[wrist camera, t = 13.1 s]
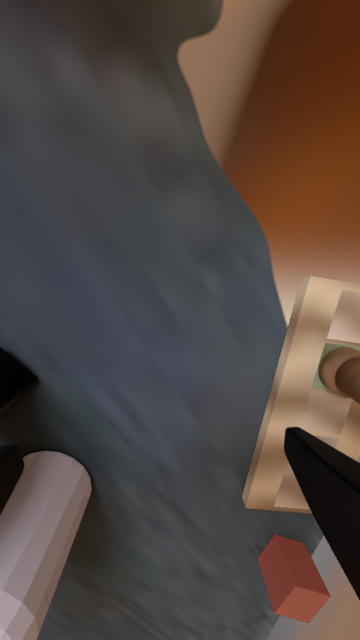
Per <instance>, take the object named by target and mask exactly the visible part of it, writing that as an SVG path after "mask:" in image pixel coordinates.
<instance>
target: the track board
mask: <svg viewBox="0 0 360 640" xmlns="http://www.w3.org/2000/svg"><path fill="white" fill-rule="evenodd" d="M341 347H349V348H353V349H355V350H358V351H360V284H355V283H349V282H343V281H337V280H331V279H325V278H319V277H313V276H302V278H301V281H300V285H299V289H298V292H297V296H296V300H295V304H294V307H293V311H292V314H291V318H290V322H289V325H288V329H287V333H286V337H285V340H284V344H283V348H282V351H281V355H280V359H279V362H278V366H277V370H276V373H275V377H274V381H273V384H272V388H271V392H270V395H269V399H268V403H267V406H266V410H265V414H264V417H263V421H262V425H261V428H260V432H259V436H258V439H257V443H256V447H255V450H254V454H253V458H252V461H251V465H250V469H249V472H248V476H247V480H246V484H245V487H244V491H243V495H242V499H243V502H244V505H245V508H248V509H260V510H273V511H286V512H298V513H311V514H312V512H311V510H310V508H309V506H308V504H307V502H306V500H305V498H304V495H303V493H302V491H301V489H300V486H299V484H298V482H297V480H296V477H295V475H294V473H293V471H292V469H291V466H290V464H289V462H288V460H287V457H286V455H285V452H284V439H285V430H286V428H288V427H300V428H302V429H303V430H305V431H307V432H308V433H310V434H312V435H314V436H315V437H317V438H319V439H320V440H322V441H324V442H325V443H327V444H329V445H330V446H332V447H334V448H335V449H337V450H339V451H340V452H342V453H344V454H346V455H347V456H349V457H351V458H352V459H354V460H356V461H357V462H358V459H359V457H360V404H359V403H357V402H356V401H354V400H353V399H351V398H344V397H341V396H339V395H338V394H336V393H335V392H333V391H332V390H330V389H329V388H328V387H326V386H325V385H324V384H323V383H322V382H321V380H320V378H319V366H320V363H321V361H322V360H323V358H324V357H325V356H326V355H327V354H328V353H329V352H331V351H332V350H334V349H337V348H341Z"/></svg>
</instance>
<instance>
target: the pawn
mask: <svg viewBox="0 0 360 640" xmlns="http://www.w3.org/2000/svg"><path fill="white" fill-rule="evenodd" d="M319 378H320V380H321V382H322V383H323V384H324V385H325V386H326V387H328V388H329V389H330V390H332V391H333V392H335V393H336V394H338V395H339V396H341V397H344V398H351V399H353V400H354V401H356V402H357V403H359V404H360V351H358V350H355V349H353V348H349V347H341V348H337V349H334V350H332V351H331V352H329V353H328V354H327V355H326V356H325V357H324V358H323V360H322V361H321V363H320V366H319Z"/></svg>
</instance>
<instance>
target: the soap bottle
mask: <svg viewBox="0 0 360 640" xmlns="http://www.w3.org/2000/svg"><path fill="white" fill-rule="evenodd" d="M23 460H24V470H23V473H22V475H21V477H20V479H19V481H18V483H17V485H16V486H15V488H14V490H13V492H12V494H11V496H10V498H9V500H8V502H7V504H6V506H5V508H4V510H3V511H2V513H1V515H0V640H37V637H38V635H39V632H40V629H41V627H42V624H43V621H44V619H45V616H46V613H47V610H48V608H49V605H50V602H51V600H52V597H53V594H54V592H55V589H56V586H57V584H58V581H59V578H60V576H61V573H62V570H63V567H64V565H65V562H66V559H67V557H68V554H69V551H70V549H71V546H72V543H73V541H74V538H75V535H76V533H77V530H78V527H79V524H80V522H81V519H82V516H83V514H84V511H85V508H86V506H87V503H88V500H89V497H90V494H91V491H92V490H91V480H90V476H89V474H88V473H87V471H86V469H85V467H84V466H83V465H82V464H80V463H79V462H78V461H77V460H76V459H74V458H73V457H70V456H68V455H65V454H63V453H61V452H53V451H40V452H35V453H30V454H28V455H27V456H25V457H23Z"/></svg>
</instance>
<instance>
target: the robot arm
mask: <svg viewBox="0 0 360 640" xmlns="http://www.w3.org/2000/svg"><path fill="white" fill-rule="evenodd" d="M29 379H31V381H30V380H29ZM35 382H36V376H35V375H33V374H32V373H31V372H30V371H28V370H27V369H26V368H25V367H23V366H22V365H21V364H19V363H18V362H17V361H16V360H14V359H13V358H12V357H11V356H9V355H8V354H7V353H5V352H4V351H3V350H2V349H0V418H1V417H2V416H3V415H4V414H5V413H6V412H7V411H8V410H9V409H10V408H11V407H12V406H13V405H14V404H15V403H16V402H17V401H18V400H19V399H20V397H21V396H22V395H23V394H24V393H25V392H26V391H27V390H28V389H29V388H30V387H31V386H32V385H33V384H34V383H35ZM284 452H285V455H286V457H287V460H288V462H289V464H290V466H291V469H292V471H293V473H294V475H295V477H296V480H297V482H298V484H299V486H300V489H301V491H302V493H303V495H304V498H305V500H306V502H307V504H308V506H309V508H310V510H311V512H312V514H313V516H314V518H315V520H316V521H317V523H318V525H319V527H320V529H321V531H322V532H323V534H324V536H325V538H326V539H327V542H328V543H329V545H330V547H331V549H332V551H333V552H334V554H335V556H336V558H337V560H338V562H339V563H340V565H341V567H342V569H343V570H344V573H345V574H346V576H347V578H348V580H349V582H350V583H351V585H352V587H353V589H354V591H355V592H356V594H357V596H358V598H359V600H360V463H359V462H357V461H356V460H354V459H352V458H351V457H349V456H347V455H346V454H344V453H342V452H340V451H339V450H337V449H335V448H334V447H332V446H330V445H329V444H327V443H325V442H324V441H322V440H320V439H319V438H317V437H315V436H314V435H312V434H310V433H308V432H307V431H305V430H303V429H302V428H300V427H288V428H286V430H285V439H284ZM23 470H24V460H23V456H22V452H21V448H20V446H19V445H17V444H12V445H4V446H2V447H0V515H1V513H2V511H3V510H4V508H5V506H6V504H7V502H8V500H9V498H10V496H11V494H12V492H13V490H14V488H15V486H16V485H17V483H18V481H19V479H20V477H21V475H22V473H23Z"/></svg>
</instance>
